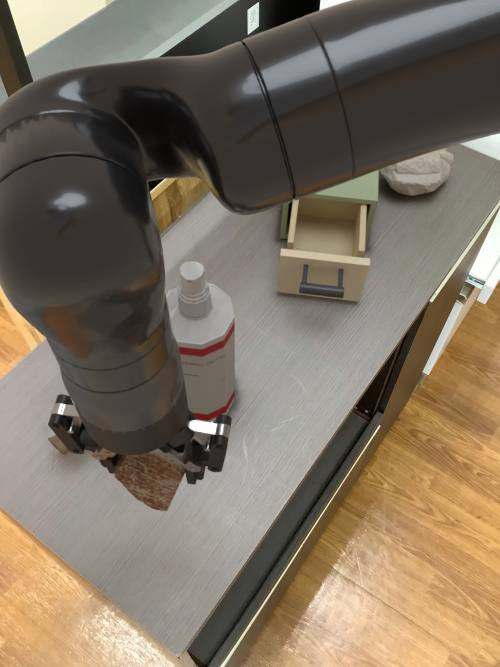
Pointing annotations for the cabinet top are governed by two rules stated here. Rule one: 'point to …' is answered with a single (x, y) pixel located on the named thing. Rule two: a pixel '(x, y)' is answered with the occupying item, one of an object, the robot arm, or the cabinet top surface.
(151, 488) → the stone
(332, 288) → the drawer
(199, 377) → the spray bottle
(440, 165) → the fossil replica
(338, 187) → the cabinet
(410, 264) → the cabinet top surface
